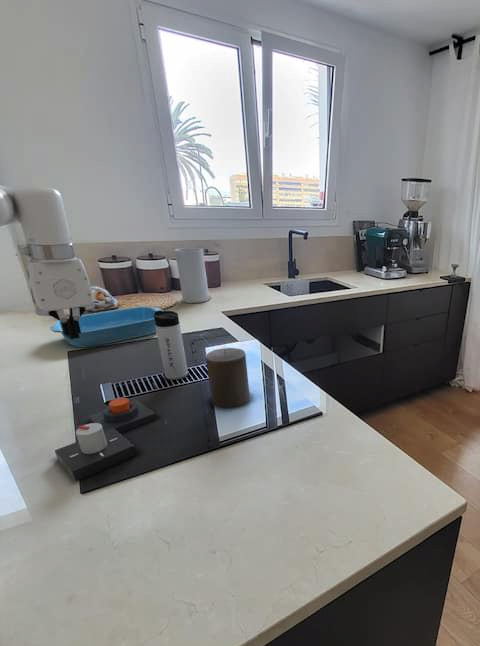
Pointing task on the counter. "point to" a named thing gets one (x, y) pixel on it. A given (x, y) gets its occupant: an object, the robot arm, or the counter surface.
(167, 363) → the travel mug
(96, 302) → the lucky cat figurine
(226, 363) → the pillar candle
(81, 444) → the timer dial
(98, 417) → the block
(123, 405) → the button
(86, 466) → the panel
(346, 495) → the counter surface
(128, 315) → the casserole dish
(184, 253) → the cylinder vase
